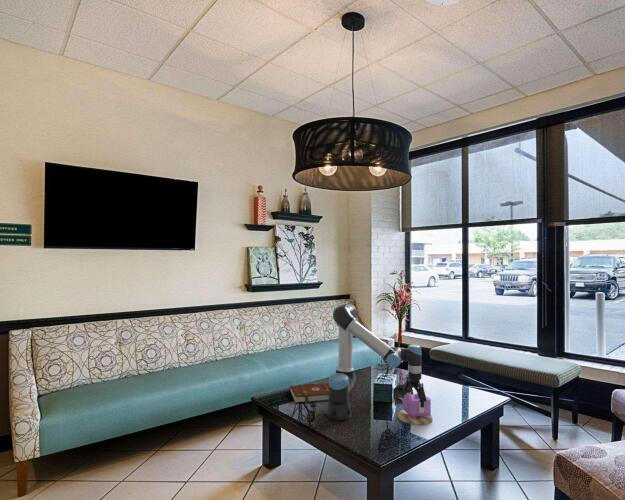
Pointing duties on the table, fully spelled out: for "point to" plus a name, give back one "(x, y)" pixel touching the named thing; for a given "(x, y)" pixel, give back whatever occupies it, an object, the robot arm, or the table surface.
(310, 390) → the book
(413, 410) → the teapot
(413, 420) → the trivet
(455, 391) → the table surface
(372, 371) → the table surface
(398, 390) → the camera
